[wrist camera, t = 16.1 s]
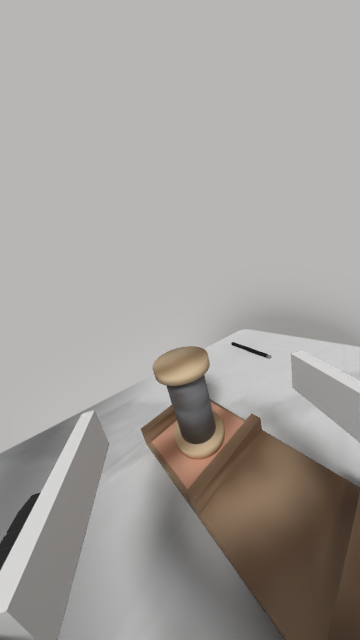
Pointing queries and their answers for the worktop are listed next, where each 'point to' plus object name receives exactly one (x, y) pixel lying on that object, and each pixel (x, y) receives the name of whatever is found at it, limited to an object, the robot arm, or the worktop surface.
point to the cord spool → (190, 401)
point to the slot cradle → (275, 523)
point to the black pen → (251, 350)
